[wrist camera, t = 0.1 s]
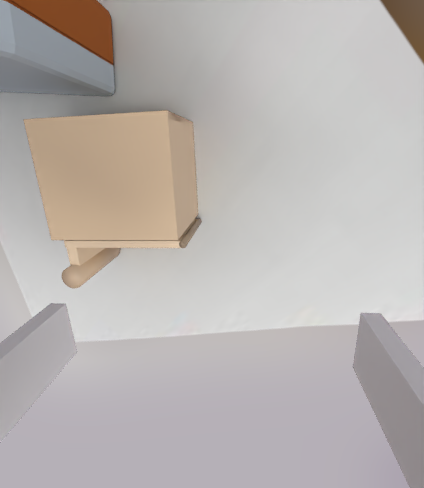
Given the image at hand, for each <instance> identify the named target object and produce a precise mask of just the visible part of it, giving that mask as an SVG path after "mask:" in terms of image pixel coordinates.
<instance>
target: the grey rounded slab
mask: <svg viewBox="0 0 424 488" xmlns="http://www.w3.org/2000/svg"><path fill="white" fill-rule="evenodd" d="M114 91H115V84H114V66H113V45H112V26H111V16H110V14H109V12H108V11H107V10H106V9H105V8H104V7H103V6H102V5H101V4H100V3H99V2H98V1H97V0H0V92H21V93H45V94H68V95H91V96H110V95H113V93H114Z"/></svg>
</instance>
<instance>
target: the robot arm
mask: <svg viewBox="0 0 424 488" xmlns="http://www.w3.org/2000/svg"><path fill="white" fill-rule="evenodd" d="M76 353H77V349H76V345H75V341H74V336H73V332H72V328H71V324H70V319H69V315H68V311H67V307H66V304H54V303H51V304H50V305H48V306H47V307H46V308H44V309H43V310H42V311H41V312H39V313H38V314H37V315H36V316H34V317H33V318H32V319H30V320H29V321H28V322H27V323H26V324H24V325H23V326H22V327H20V328H19V329H18V330H16V331H15V332H14V333H12V334H11V335H10V336H9V337H7V338H6V339H5V340H4V341H2V342H1V343H0V443H1V441H2V440H3V439H4V438H5V437H6V436H7V434H8V433H9V432H10V431H11V430H12V428H13V427H14V426H15V425H16V424H17V423H18V421H19V420H20V419H21V418H22V417H23V415H24V414H25V413H26V412H27V410H28V409H29V408H30V407H31V406H32V405H33V404H34V402H35V401H36V400H37V399H38V398H39V397H40V395H41V394H42V393H43V392H44V391H45V389H46V388H47V387H48V386H49V385H50V384H51V382H52V381H53V380H54V379H55V378H56V377H57V375H58V374H59V373H60V372H61V370H62V369H63V368H64V367H65V366H66V365H67V364H68V362H69V361H70V360H71V359H72V358H73V356H74V355H75V354H76ZM353 368H354V370H355V373H356V375H357V377H358V379H359V381H360V383H361V385H362V387H363V390H364V392H365V394H366V396H367V398H368V400H369V402H370V404H371V407H372V409H373V411H374V413H375V415H376V417H377V419H378V421H379V423H380V425H381V427H382V430H383V432H384V434H385V436H386V438H387V440H388V443H389V445H390V447H391V449H392V451H393V453H394V455H395V457H396V459H397V461H398V464H399V466H400V468H401V470H402V472H403V474H404V476H405V478H406V481H407V483H408V485H409V487H410V488H424V367H423V366H422V365H421V364H420V362H419V361H418V360H417V359H416V357H415V356H414V355H413V353H412V352H411V351H410V350H409V349H408V347H407V346H406V345H405V343H403V341H402V340H401V338H400V337H399V336H398V335H397V333H396V332H395V331H394V330H393V328H392V327H391V326H390V325H389V323H388V322H387V321H386V320H385V318H384V317H383V316H382V314H381V313H361V314H360V321H359V329H358V335H357V342H356V349H355V356H354V364H353Z"/></svg>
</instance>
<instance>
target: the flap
mask: <svg viewBox="0 0 424 488" xmlns="http://www.w3.org/2000/svg"><path fill="white" fill-rule="evenodd" d="M201 222H202V221H201V219H197V220H196V219H194V220H193V221H192V223H191V224H190V225H189V227H188V228H187V229H186V230H185V232H184V233H183V234H182V236H181V237H180V238H179V239H178V240H65V241H64V243H65V247H66V248H67V251H68V256H69V261H70V265H71V266H70V267H68V268H66V269H65V270H64V271H63V272H62V280H63V282H64V283H65V284H66V285H67V286H68V287H70V288H78V287H80V286H81V285H83V284H84V283H85V282H86V281H87V280H89V279H90V278H91V277H92V276H94V275H95V274H96V273H97V272H98V271H100V270H101V269H102V268H103V267H105V266H106V265H107V264H108V263H110V262H111V261H112V260H113V259H114V258H116V257H117V256H118V255H119V253H120V248H185V247H186V246H187V244H188V242H189V241H190V239H191V238H192V236H193V235H194V233H195V232H196V230H197V229H198V227H199V225H200V224H201Z"/></svg>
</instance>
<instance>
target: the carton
mask: <svg viewBox="0 0 424 488" xmlns="http://www.w3.org/2000/svg"><path fill="white" fill-rule="evenodd" d="M23 120H24V124H25V129H26V133H27V137H28V141H29V146H30V150H31V154H32V159H33V163H34V167H35V171H36V176H37V180H38V184H39V189H40V193H41V197H42V201H43V206H44V210H45V214H46V218H47V223H48V227H49V231H50V236H51V240H178V239H179V238H180V237H181V236H182V234H183V233H184V232H185V230H186V229H187V228H188V227H189V225H190V224H191V223H192V221H193V220H194V219H195V218H196V216H197V215H198V202H197V184H196V167H195V149H194V132H193V122H191V121H189V120H187V119H185V118H183V117H181V116H178V115H176V114H174V113H172V112H170V111H167V110H165V111H149V112H133V113H117V114H101V115H85V116H69V117H53V118H37V119H23Z"/></svg>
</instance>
